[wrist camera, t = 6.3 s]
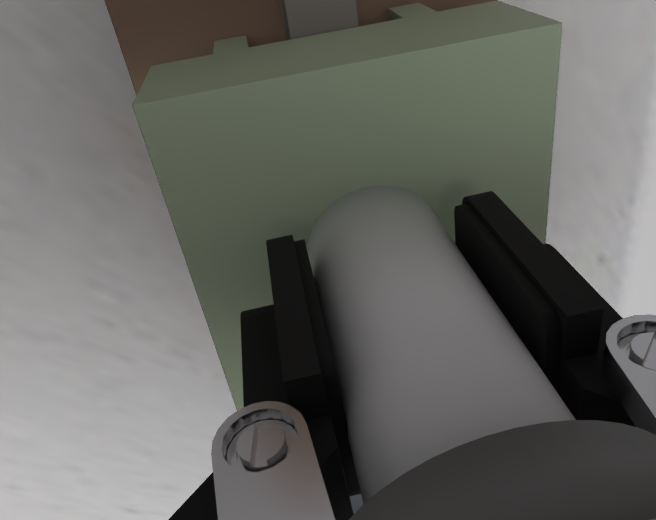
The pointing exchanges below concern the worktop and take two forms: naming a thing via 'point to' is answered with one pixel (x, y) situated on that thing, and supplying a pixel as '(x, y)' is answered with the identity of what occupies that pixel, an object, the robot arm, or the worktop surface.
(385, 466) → the block
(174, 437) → the worktop surface
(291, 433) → the robot arm
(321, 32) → the rail stand
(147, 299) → the worktop surface
